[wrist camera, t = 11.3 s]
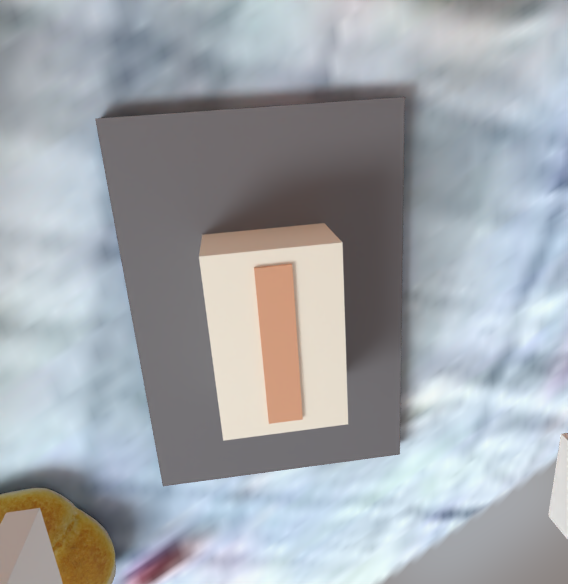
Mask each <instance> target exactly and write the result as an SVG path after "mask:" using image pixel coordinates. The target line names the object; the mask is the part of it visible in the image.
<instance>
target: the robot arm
mask: <svg viewBox="0 0 568 584" xmlns="http://www.w3.org/2000/svg"><path fill="white" fill-rule="evenodd" d="M548 516H549V517H550V519H551V520H552V521H553V522H554V523H555V525H556V526H557V527H558V528H559V530H560V531H561V532H562V533H563V534H564V536H565V537H566V538H567V539H568V433H564V434H561V437H560V444H559V450H558V457H557V463H556V470H555V476H554V483H553V490H552V496H551V503H550V508H549V515H548ZM0 584H63V583H62V579H61V576H60V573H59V569H58V566H57V563H56V559H55V556H54V553H53V549H52V546H51V543H50V539H49V536H48V533H47V529H46V526H45V523H44V520H43V516H42V513H41V510H40V508H36V509H29V510H22V511H14V512H7V513H6V514H5V516H4V518H3V520H2V522H1V524H0Z"/></svg>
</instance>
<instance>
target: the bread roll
mask: <svg viewBox="0 0 568 584" xmlns="http://www.w3.org/2000/svg"><path fill="white" fill-rule="evenodd" d="M36 508H40V510H41V513H42V516H43V520H44V523H45V526H46V529H47V533H48V536H49V539H50V543H51V546H52V549H53V553H54V556H55V559H56V563H57V566H58V569H59V573H60V576H61V579H62V583H63V584H112V582H113V580H114V577H115V572H116V564H115V551H114V546H113V543H112V540H111V539H110V536H109V534H108V533H107V531H106V530H105V529H104V527H103V526H102V525H100V524H99V523H98V522H97V521H96V520H95V519H94V518H92V517H91V516H89V515H88V514H86V513H85V512H84V511H82V510H79V509H78V508H76V507H75V505H74V504H73V503H72V502H71V501H70V500H68V499H67V498H65V497H64V496H62V495H61V494H59V493H57V492H55V491H53V490H50V489H47V488H30V489H24V490H18V491H13V492H8V493H3V494H0V524H1V522H2V520H3V518H4V516H5V514H6V513H7V512H14V511H22V510H29V509H36Z"/></svg>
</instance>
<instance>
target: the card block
mask: <svg viewBox="0 0 568 584" xmlns="http://www.w3.org/2000/svg"><path fill="white" fill-rule="evenodd" d="M199 262H200V269H201V277H202V284H203V292H204V299H205V307H206V314H207V322H208V329H209V337H210V345H211V352H212V360H213V367H214V375H215V382H216V390H217V397H218V405H219V412H220V420H221V427H222V435H223V441H225V440H232V439H240V438H247V437H255V436H263V435H270V434H278V433H286V432H293V431H301V430H308V429H316V428H324V427H331V426H339V425H346V424H348V400H347V368H346V337H345V305H344V274H343V242H342V241H341V240H340V239H339V238H338V237H337V236H336V235H335V234H334V233H333V232H332V231H331V230H330V229H329V228H328V227H327V225H326V224H325V223H319V224H309V225H299V226H288V227H278V228H267V229H257V230H246V231H236V232H225V233H215V234H204V235H202V239H201V246H200V252H199Z"/></svg>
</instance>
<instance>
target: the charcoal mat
mask: <svg viewBox="0 0 568 584" xmlns="http://www.w3.org/2000/svg"><path fill="white" fill-rule="evenodd" d="M404 109H405V97H396V98H382V99H368V100H353V101H339V102H325V103H311V104H297V105H282V106H268V107H254V108H240V109H226V110H211V111H197V112H183V113H169V114H155V115H140V116H126V117H112V118H98V119H96V125H97V130H98V136H99V141H100V146H101V152H102V157H103V163H104V168H105V174H106V179H107V185H108V190H109V195H110V201H111V206H112V212H113V217H114V223H115V228H116V233H117V239H118V244H119V250H120V255H121V261H122V266H123V271H124V277H125V282H126V288H127V293H128V299H129V304H130V310H131V315H132V320H133V326H134V331H135V337H136V342H137V348H138V353H139V358H140V364H141V369H142V375H143V380H144V386H145V391H146V396H147V402H148V407H149V413H150V418H151V424H152V429H153V435H154V440H155V445H156V451H157V456H158V462H159V467H160V473H161V478H162V483H163V486H168V485H176V484H183V483H190V482H198V481H205V480H213V479H220V478H228V477H235V476H242V475H250V474H257V473H265V472H272V471H279V470H287V469H294V468H302V467H309V466H317V465H324V464H331V463H339V462H346V461H354V460H361V459H369V458H376V457H383V456H391V455H398V454H400V396H401V324H402V253H403V181H404ZM319 223H325V224H326V225H327V227H328V228H329V229H330V230H331V231H332V232H333V233H334V234H335V235H336V236H337V237H338V238H339V239H340V240H341V241H342V242H343V274H344V305H345V337H346V368H347V400H348V424H346V425H339V426H331V427H324V428H316V429H308V430H301V431H293V432H286V433H278V434H270V435H263V436H255V437H247V438H240V439H232V440H225V441H223V435H222V427H221V420H220V412H219V405H218V397H217V390H216V382H215V375H214V367H213V360H212V352H211V345H210V337H209V329H208V322H207V314H206V307H205V299H204V292H203V284H202V277H201V269H200V262H199V252H200V246H201V239H202V235H204V234H215V233H225V232H236V231H246V230H257V229H267V228H278V227H288V226H299V225H309V224H319Z"/></svg>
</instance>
